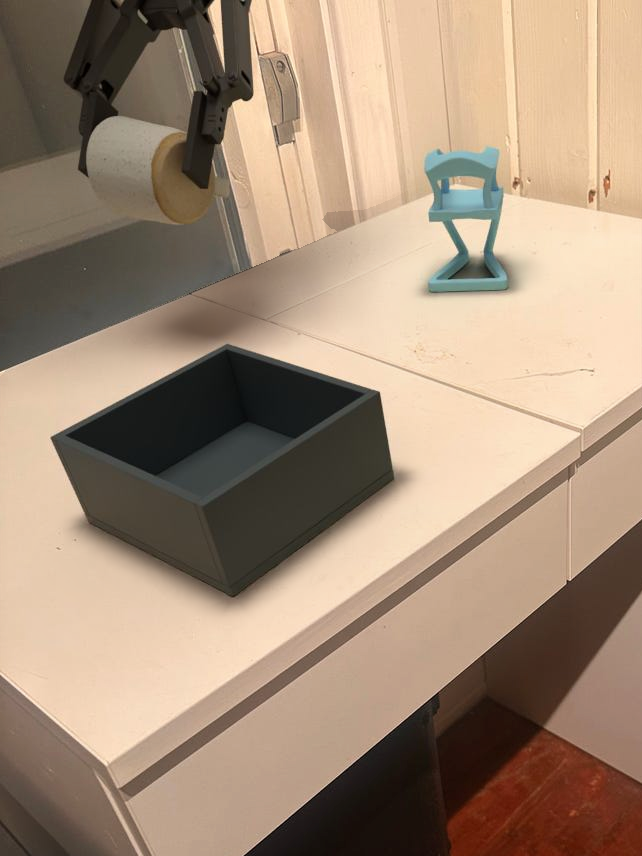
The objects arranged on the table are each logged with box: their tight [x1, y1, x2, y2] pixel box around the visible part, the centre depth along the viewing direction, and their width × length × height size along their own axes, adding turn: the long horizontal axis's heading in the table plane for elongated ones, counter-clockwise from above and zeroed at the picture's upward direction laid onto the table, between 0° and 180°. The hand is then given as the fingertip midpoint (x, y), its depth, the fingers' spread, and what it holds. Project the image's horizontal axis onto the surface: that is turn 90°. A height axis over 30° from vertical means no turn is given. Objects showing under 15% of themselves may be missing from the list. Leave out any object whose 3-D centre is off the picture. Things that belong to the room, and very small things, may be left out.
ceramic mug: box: [86, 115, 231, 226], centre depth 77 cm, size 11×8×8 cm
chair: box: [423, 145, 509, 293], centre depth 87 cm, size 8×8×12 cm
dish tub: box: [50, 343, 395, 597], centre depth 62 cm, size 15×15×7 cm
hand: (142, 179), depth 75 cm, fingers closed on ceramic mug, 9 cm apart
